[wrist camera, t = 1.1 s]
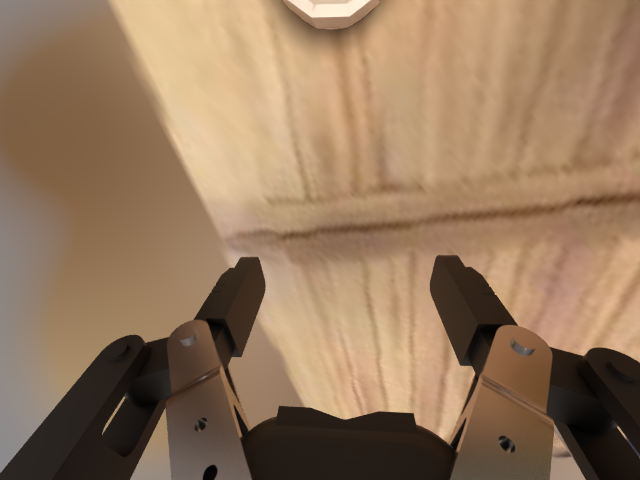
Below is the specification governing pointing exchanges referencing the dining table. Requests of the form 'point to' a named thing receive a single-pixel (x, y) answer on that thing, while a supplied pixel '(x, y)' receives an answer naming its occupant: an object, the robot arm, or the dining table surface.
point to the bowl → (331, 12)
